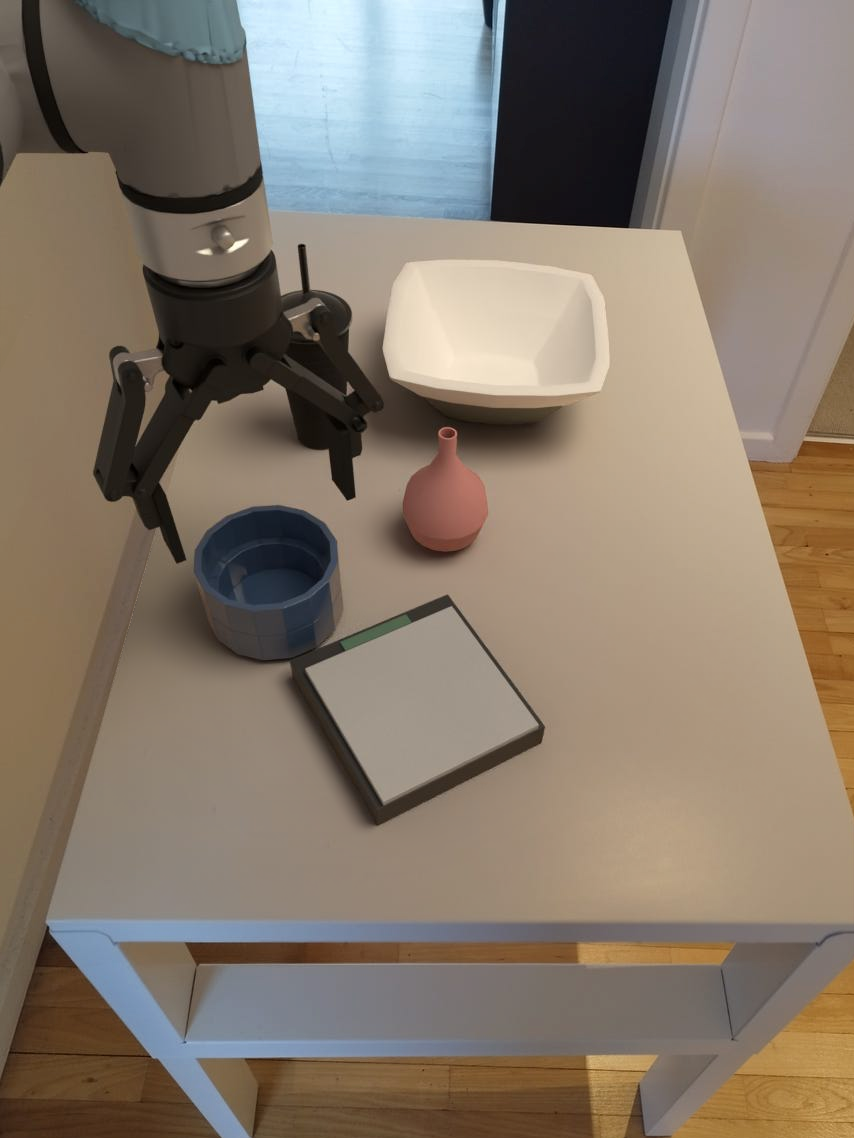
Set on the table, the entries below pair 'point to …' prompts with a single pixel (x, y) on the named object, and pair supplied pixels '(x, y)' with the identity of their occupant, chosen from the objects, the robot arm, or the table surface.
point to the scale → (415, 706)
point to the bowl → (496, 338)
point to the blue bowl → (270, 581)
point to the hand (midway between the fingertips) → (262, 518)
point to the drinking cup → (315, 359)
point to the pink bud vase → (445, 500)
